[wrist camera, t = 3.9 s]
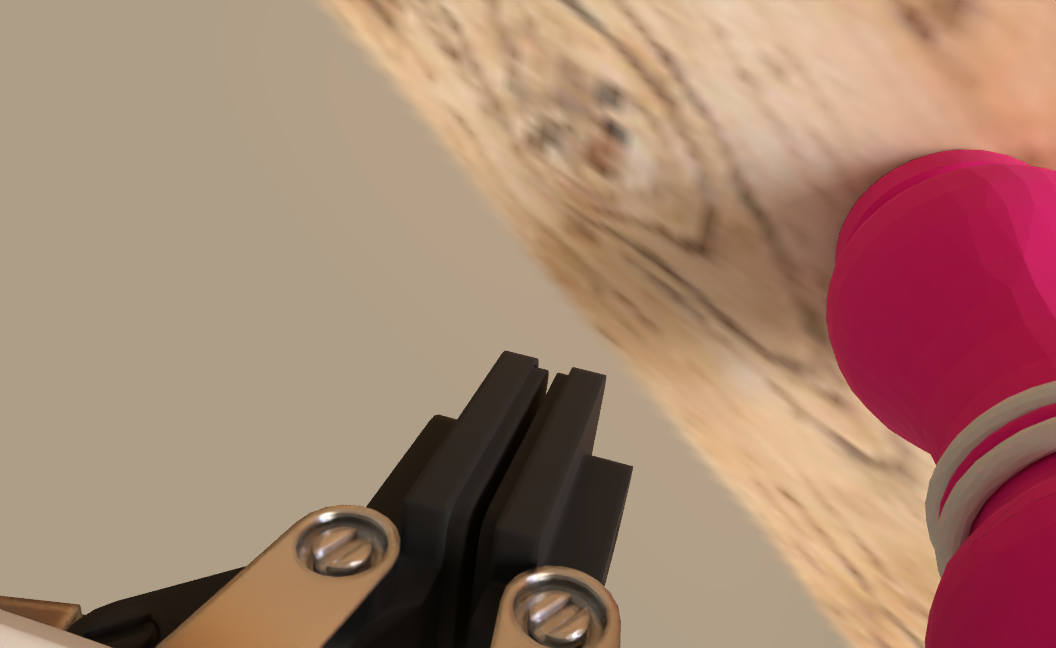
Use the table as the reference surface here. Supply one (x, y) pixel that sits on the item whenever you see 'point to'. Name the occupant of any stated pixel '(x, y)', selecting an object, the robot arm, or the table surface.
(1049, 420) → the pepper mill
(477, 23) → the table surface
